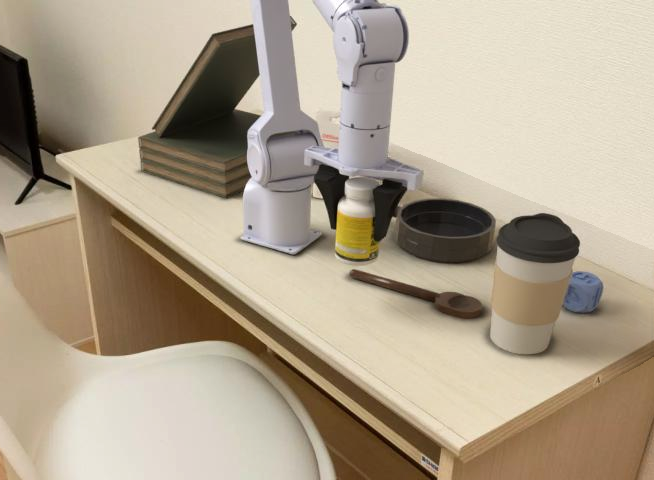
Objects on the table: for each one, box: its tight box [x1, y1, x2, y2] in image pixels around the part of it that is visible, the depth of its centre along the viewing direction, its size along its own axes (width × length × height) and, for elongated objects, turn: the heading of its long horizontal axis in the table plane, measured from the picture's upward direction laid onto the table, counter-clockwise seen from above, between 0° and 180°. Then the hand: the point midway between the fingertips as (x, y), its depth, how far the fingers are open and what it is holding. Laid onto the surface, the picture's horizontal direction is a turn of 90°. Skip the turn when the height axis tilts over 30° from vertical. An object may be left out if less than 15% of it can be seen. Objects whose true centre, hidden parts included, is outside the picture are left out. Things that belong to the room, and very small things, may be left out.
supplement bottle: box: [334, 177, 381, 267], centre depth 96 cm, size 5×5×10 cm
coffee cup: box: [489, 212, 581, 355], centre depth 91 cm, size 9×9×15 cm
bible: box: [137, 15, 299, 199], centre depth 136 cm, size 23×20×25 cm
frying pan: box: [394, 197, 497, 263], centre depth 117 cm, size 14×14×4 cm
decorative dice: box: [562, 270, 604, 314], centre depth 102 cm, size 4×4×4 cm
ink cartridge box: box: [312, 108, 367, 200], centre depth 128 cm, size 9×5×15 cm, turn 68°
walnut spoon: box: [349, 268, 483, 319], centre depth 104 cm, size 19×4×1 cm, turn 60°
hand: (358, 232), depth 97 cm, fingers closed on supplement bottle, 5 cm apart
